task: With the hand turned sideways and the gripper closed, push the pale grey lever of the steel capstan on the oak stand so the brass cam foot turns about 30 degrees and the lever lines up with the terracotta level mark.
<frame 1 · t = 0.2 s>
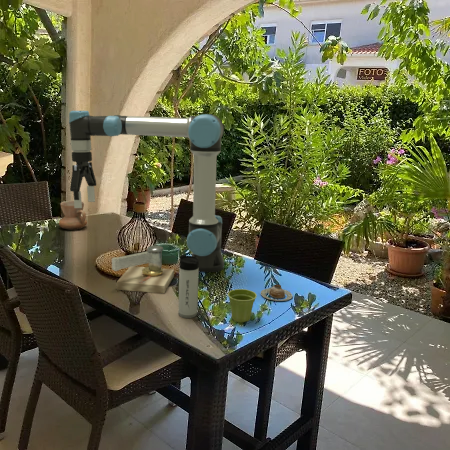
hand: (85, 204, 185), 27 cm above the table, tool pointing down, fingers open, 13 cm apart
plant pot: (240, 319, 154), on the table
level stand: (146, 282, 180), on the table
cam foot: (138, 263, 176), point 8 cm above the table, hinge at 0.0°
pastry: (276, 297, 174), on the table
travel mug: (187, 314, 155), on the table
ceramic jug: (73, 228, 251), on the table
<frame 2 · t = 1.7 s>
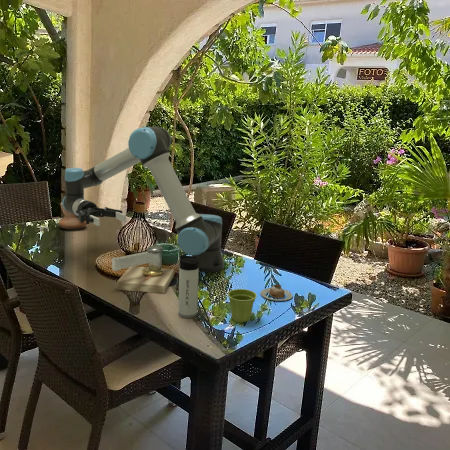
hand: (112, 220, 176), 24 cm above the table, tool horizontal, fingers open, 10 cm apart
nothing on the table moved.
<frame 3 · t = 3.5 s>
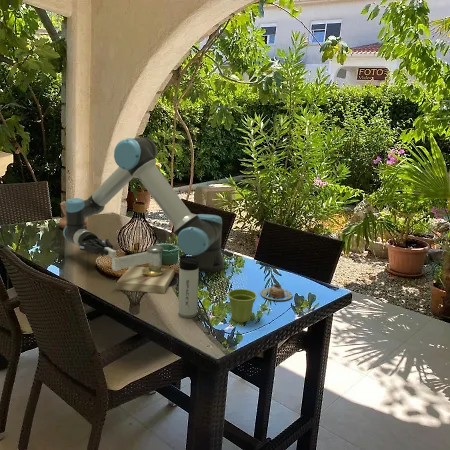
hand: (114, 254, 178), 11 cm above the table, tool horizontal, fingers closed
nothing on the table moved.
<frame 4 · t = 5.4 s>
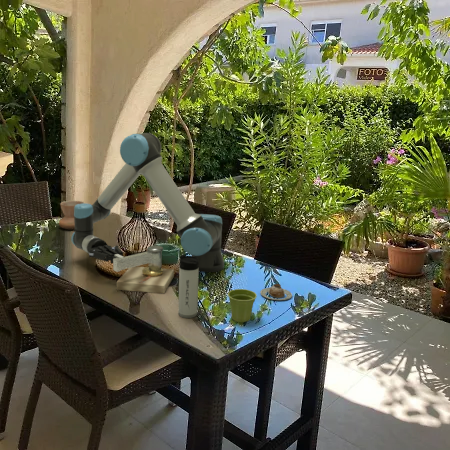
hand: (124, 262, 173), 10 cm above the table, tool horizontal, fingers closed
cam foot: (139, 263, 176), point 8 cm above the table, hinge at 3.4°, touching gripper
everything else where it was.
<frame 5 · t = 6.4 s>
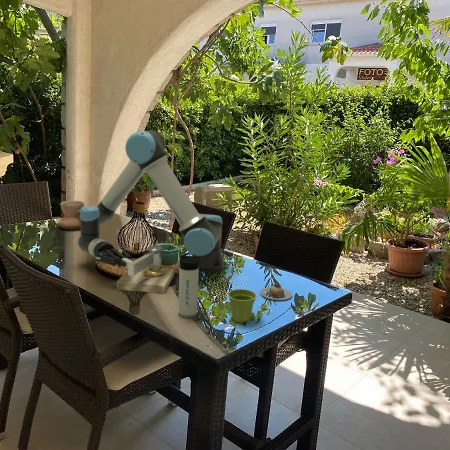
hand: (132, 266, 169), 10 cm above the table, tool horizontal, fingers closed
cam foot: (145, 265, 174), point 8 cm above the table, hinge at 27.9°, touching gripper
everything else where it was.
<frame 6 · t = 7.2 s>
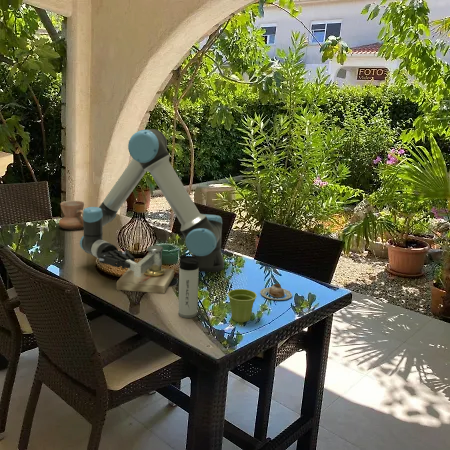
hand: (136, 268, 167), 10 cm above the table, tool horizontal, fingers closed
cam foot: (148, 266, 174), point 8 cm above the table, hinge at 35.9°, touching gripper
everything else where it was.
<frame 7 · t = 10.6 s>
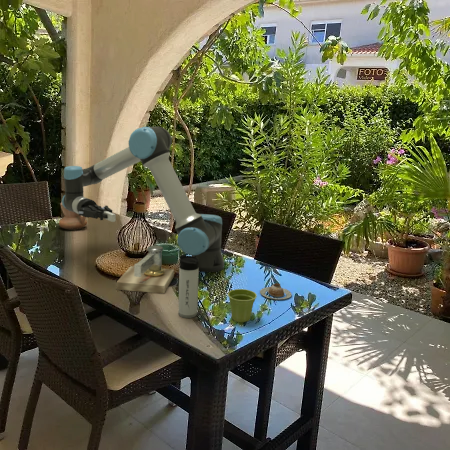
hand: (113, 218, 175), 25 cm above the table, tool horizontal, fingers closed
cam foot: (148, 266, 174), point 8 cm above the table, hinge at 36.0°
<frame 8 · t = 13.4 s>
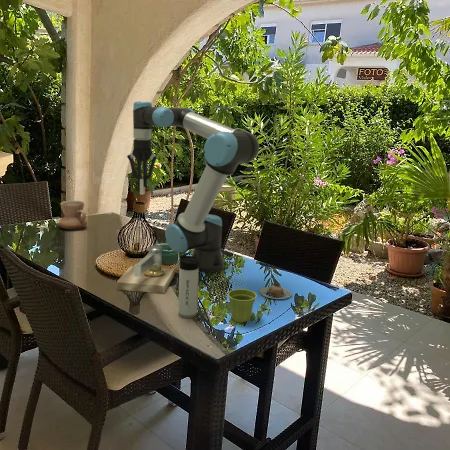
hand: (142, 193, 201), 29 cm above the table, tool pointing down, fingers closed
at the end: cam foot at +36° (first picture: +0°); travel mug moved 0.2 cm from its start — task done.
